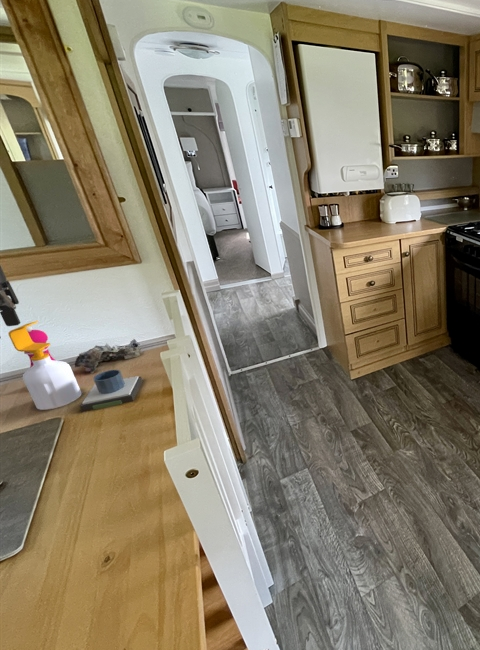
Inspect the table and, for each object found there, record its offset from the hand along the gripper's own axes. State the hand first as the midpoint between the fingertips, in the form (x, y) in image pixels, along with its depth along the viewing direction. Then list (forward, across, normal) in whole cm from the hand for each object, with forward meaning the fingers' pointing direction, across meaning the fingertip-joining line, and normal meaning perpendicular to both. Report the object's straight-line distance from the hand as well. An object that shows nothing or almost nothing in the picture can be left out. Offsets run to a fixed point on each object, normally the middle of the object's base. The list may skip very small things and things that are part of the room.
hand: (4, 332), depth 86 cm
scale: (+28, -11, +10) cm, 32 cm away
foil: (+28, -35, +4) cm, 45 cm away
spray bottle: (+28, -15, -3) cm, 32 cm away
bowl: (+25, -11, +10) cm, 29 cm away
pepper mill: (+28, -26, -8) cm, 39 cm away
